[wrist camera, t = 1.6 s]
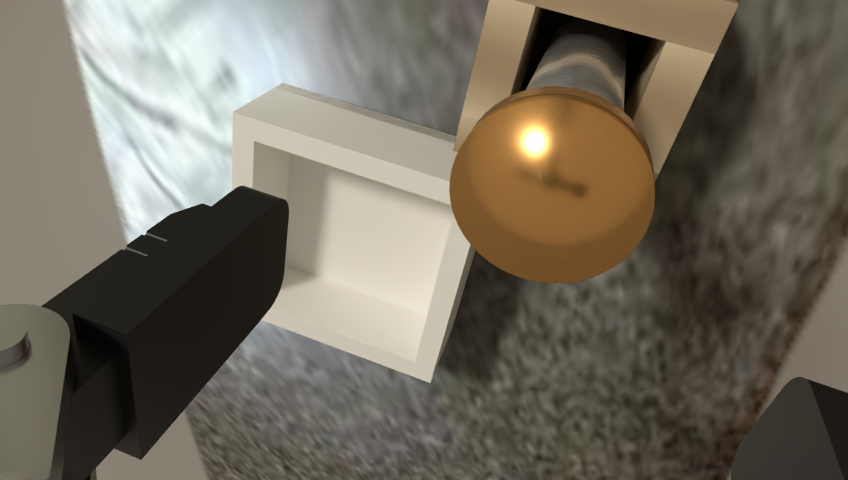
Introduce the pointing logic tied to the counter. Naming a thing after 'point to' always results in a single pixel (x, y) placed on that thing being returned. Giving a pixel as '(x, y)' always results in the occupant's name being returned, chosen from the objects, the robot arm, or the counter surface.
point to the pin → (558, 166)
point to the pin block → (621, 8)
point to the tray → (358, 225)
